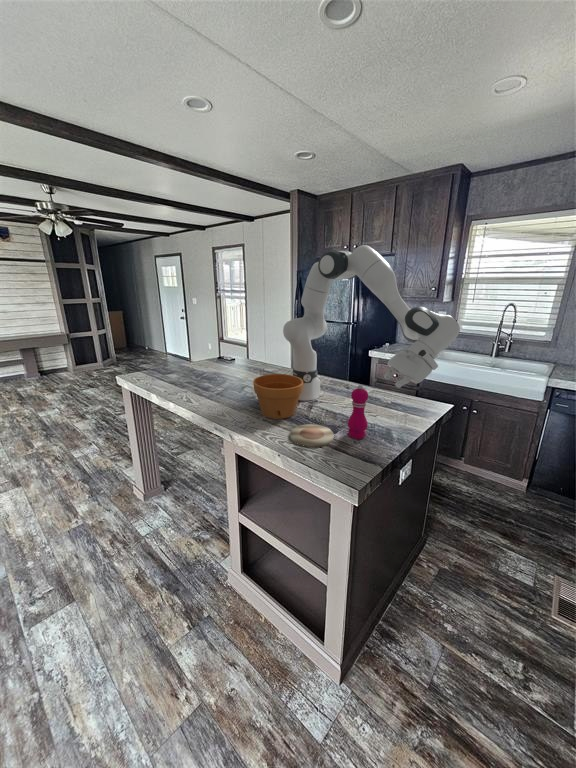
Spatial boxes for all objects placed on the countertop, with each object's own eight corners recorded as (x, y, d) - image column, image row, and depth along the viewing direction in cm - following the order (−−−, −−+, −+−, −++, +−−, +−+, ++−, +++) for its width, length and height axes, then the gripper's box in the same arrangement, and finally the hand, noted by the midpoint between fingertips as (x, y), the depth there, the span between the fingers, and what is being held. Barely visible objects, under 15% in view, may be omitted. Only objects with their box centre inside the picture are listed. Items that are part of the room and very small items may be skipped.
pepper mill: (363, 430, 124) (367, 381, 118) (368, 439, 117) (373, 387, 111) (345, 430, 124) (348, 381, 117) (349, 439, 117) (352, 388, 111)
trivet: (287, 428, 126) (287, 425, 125) (327, 426, 128) (327, 423, 127) (293, 448, 111) (293, 445, 110) (338, 445, 113) (338, 442, 112)
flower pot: (308, 407, 147) (309, 376, 142) (293, 426, 128) (293, 391, 123) (266, 401, 153) (265, 371, 149) (246, 418, 135) (244, 385, 130)
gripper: (401, 343, 122) (374, 368, 124) (430, 355, 103) (398, 385, 105) (410, 354, 124) (384, 379, 126) (441, 368, 105) (409, 397, 107)
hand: (390, 382), depth 115 cm, fingers open, 8 cm apart
